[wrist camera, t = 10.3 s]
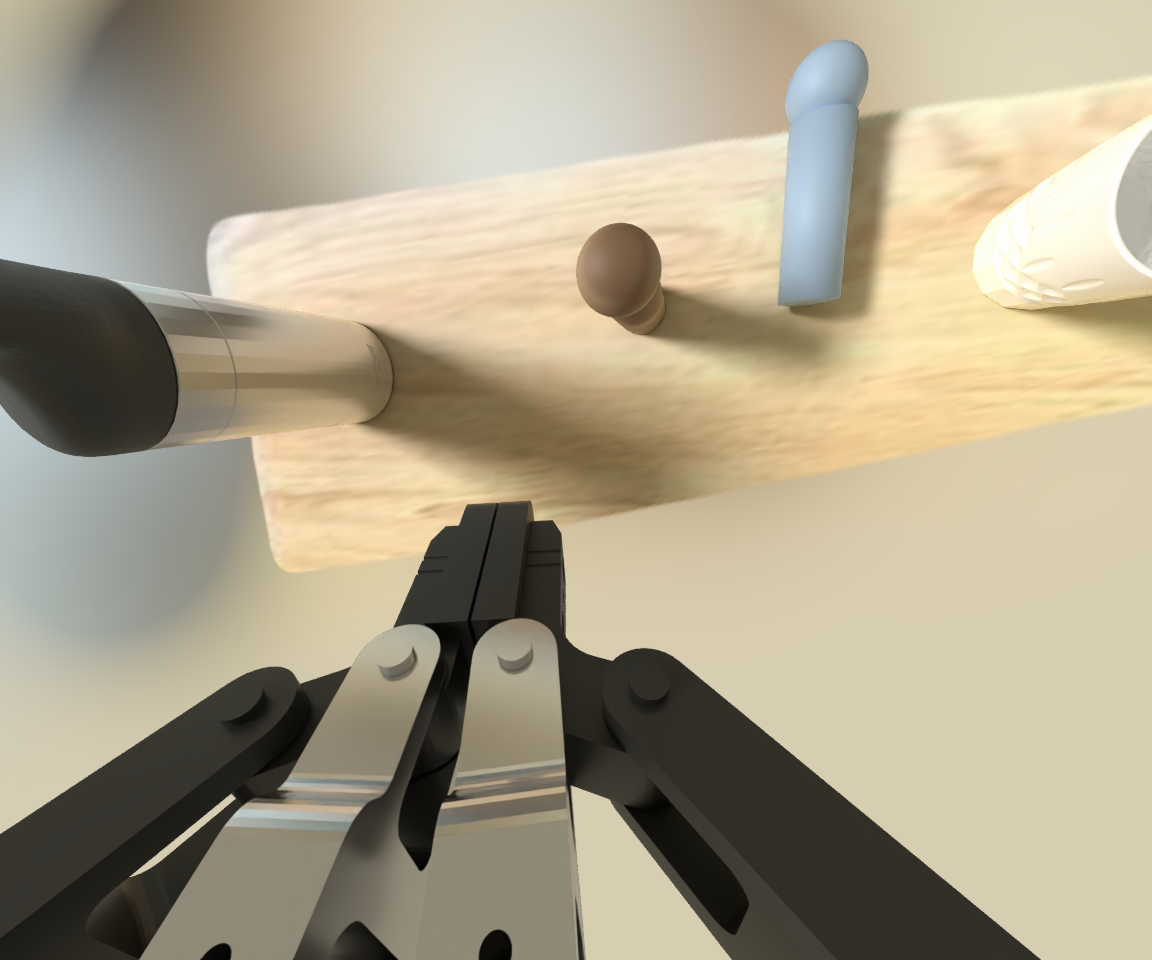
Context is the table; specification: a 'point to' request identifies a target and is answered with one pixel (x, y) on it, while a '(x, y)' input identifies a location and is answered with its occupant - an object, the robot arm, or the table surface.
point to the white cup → (1076, 232)
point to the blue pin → (820, 171)
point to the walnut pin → (622, 277)
